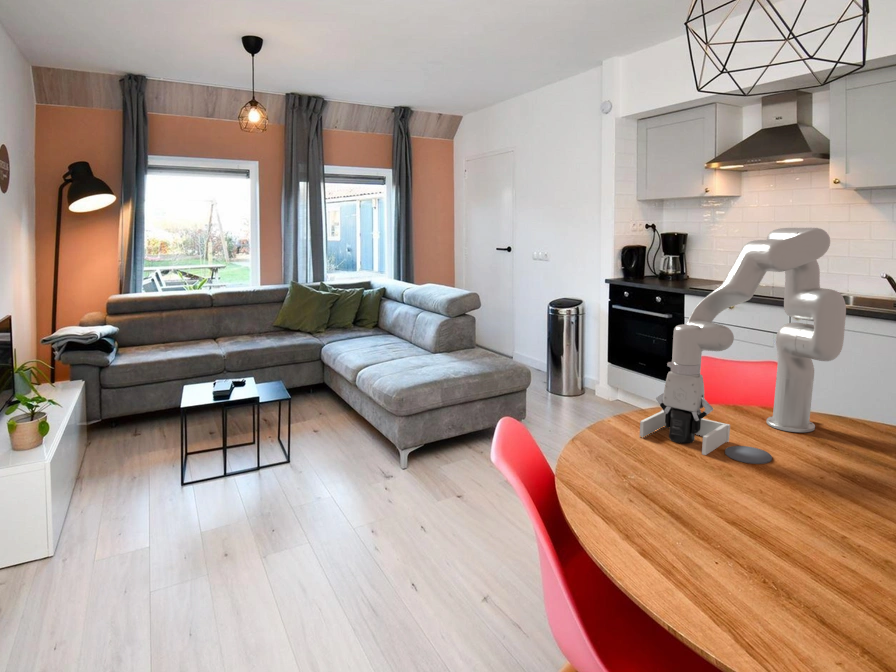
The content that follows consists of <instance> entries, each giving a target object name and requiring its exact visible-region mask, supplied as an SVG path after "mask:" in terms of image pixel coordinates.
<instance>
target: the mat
mask: <svg viewBox="0 0 896 672" xmlns="http://www.w3.org/2000/svg"><path fill="white" fill-rule="evenodd" d="M724 454H725V455H726V457H728V458H729V459H731V460H734V461H738V462H740V463H745V464H750V465H751V464H752V465H765V464H768V463H770V462H772V460H773V459H772V458H773V457H772V455H771V453H769V452H768V451H765V450H763V449H761V448H757V447H752V446H746V445H733V446H728V447H726V448H725V449H724Z"/></svg>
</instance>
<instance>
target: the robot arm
mask: <svg viewBox="0 0 896 672" xmlns="http://www.w3.org/2000/svg"><path fill="white" fill-rule="evenodd" d="M830 246H831V238H830V235H829V233H828V232H827V231H826V230H825V229H822V228H820V227H782V228H781V227H779V228H776V229H774V230H772V231H770V232H769V234H767V236H766V239H756V240H755V239H754V240H751V241H748V242H746V243H745V244H744V245H743V247H742V248H741V249H740V252H738V255H737V256H736V258H735V260H734V261H733V264H732V266H731V267H730V269H729V271H728V273H727V274H726V276H725V278H724V280H723V282H721V285H720V286H719V287H717V288H716V289H714V290H713V291H712V292H710V293H709V294H708V295H706V296H705V297H704V298H703V299H702V300H701V301H700V302H699V303H698V304H697V305H696V306H695V307H694V309H693V310H692V312H691V314H690V316H689V318H688V319H687V320H686V323H684V324H678V325H676V326H675V327H674V328H673V335H672V338H673V339H672V356H671V357H672V359H671V361H667V363H666V364H667V365H666V366H667V367H669V368H670V371H668V373H667V375H666V378H665V384H664V390H663V393H661V394H660V395H658V396H656V398H655V400H656V402H657V403H658V405H659V406H660V407H661V410H664V413H665V414H666V415H665V423H666V427H665V428H668V429H669V427H670V411H671V409H672V408H676V409H681V410H685V411H690V412H692V414H693V416H694V420H693V421H692V434H696V433H697V432H699V431H700V426H701V419H704V418H705V417H707V416H708V414H710V413H712V412H713V411H714V408H713V406H712V405H711V404H710V403H709V402H708V400H706V399H705V385H704V375H703V374H701V369H702V368H701V367H702V353H703V352H723V351H725V350H728V349H729V348H730V347H731V346H732V345H733V343H734V340H735V336H734V333H733V331H732V330H731V329H730V328H729V327H728V326H726V325H722V324H719V323H715V322H713V321H714V320H715V318H716V317H717V316H719V314H721V313H722V312H723V311H725V310H727V309H729V308H732V307H734V306H737V305H740V304H742V303H745V302H747V301H749V300H751V299H752V297H754V295H755V293H756V291H757V289H758V287H759V285H760V284H761V282H762V280H763V278H764V277H765V275H766V273H767V272H775V273H776V272H777V273H783V272H784V273H785V274H784V279H785V281H784V296H783V310H784V313H785V314H786V315H787V316H789V317H791V318H793V319H797V320H802V321H809V322H813V324H809V323H803V322H789V323H786V324H784V325H782V326H781V327H779V329H778V331H777V333H776V336H775V345H776V352H777V369H776V378H775V379H776V380H775V389H774V400H773V410H772V411H773V412H772V416H768V417H767V418H766V424H767V425H768V426H769V427H771V428H774V429H777V430H779V431H780V430H781V431H784V432H792V433H811V432H813V431H815V429H816V425H815V424H814V423H813V422H812V421H810V417H811V408H812V399H813V390H814V381H815V365H814V363H813V360H815V361H819V362H820V361H821V362H831V361H833V360H835V359H836V358H838V357H839V356H840V354H841V352H842V350H843V346H844V339H845V331H846V330H845V329H846V327H845V326H846V316H847V305H846V301H845V298H844V297H843V295H842V294H841V293H840V291H839V292H838V291H837V290H835V289H830V288H822V287H821V285H820V283H821V282H820V281H821V280H820V277H821V276H820V273H821V270H820V266H819V262H818V261H817V260H819V259H820V258H822V257H824V255H826V253H827V252H828V251H829V249H830ZM703 408H704V410H703V411H701V409H703Z"/></svg>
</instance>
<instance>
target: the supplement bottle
mask: <svg viewBox="0 0 896 672" xmlns="http://www.w3.org/2000/svg"><path fill="white" fill-rule="evenodd" d="M693 420H694V416H693V414H692V412H690V411H685V410H681V409H676V408H672V409H671V411H670V428H668V429H669V430H668V431H669V432H668V438H669V440H670V441H672V442H674V443H678V444H683V445H686V444H689V445H690V444H692V443H694V442H695V437H696V435H695V434H692V421H693Z"/></svg>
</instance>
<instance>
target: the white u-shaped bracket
mask: <svg viewBox="0 0 896 672" xmlns="http://www.w3.org/2000/svg"><path fill="white" fill-rule="evenodd" d="M665 415H666V414H665V413H664V410H663V409H660V411H659V412H656V413H655V414H652V415H651V416H648V417H646V418H644V419H641V420H640V422H639V437H640V436H641V437H644V436H646V435H648V434H650V433H652V432H654V431H655V430H657V429H659V428H661V427H663V426H666V423H665ZM730 432H731V424H729V423H724V422H721V421H716V420H710V419H706V418H702V419H701V426H700V431H699V432H697V433H696V435H695V436H699V435H700V436H699V437H702V446H701V447H702V448H701V455H703V456H707V455H708V454H710V453H711V452H714V450H715V449H717V448H719V447H720V446H722V445H724V444H725V443H727V442H728V443H729V442H730ZM654 433H655V432H654ZM652 434H653V433H652ZM650 435H651V434H650ZM648 436H649V435H648ZM646 437H647V436H646ZM644 438H645V437H644Z"/></svg>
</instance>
